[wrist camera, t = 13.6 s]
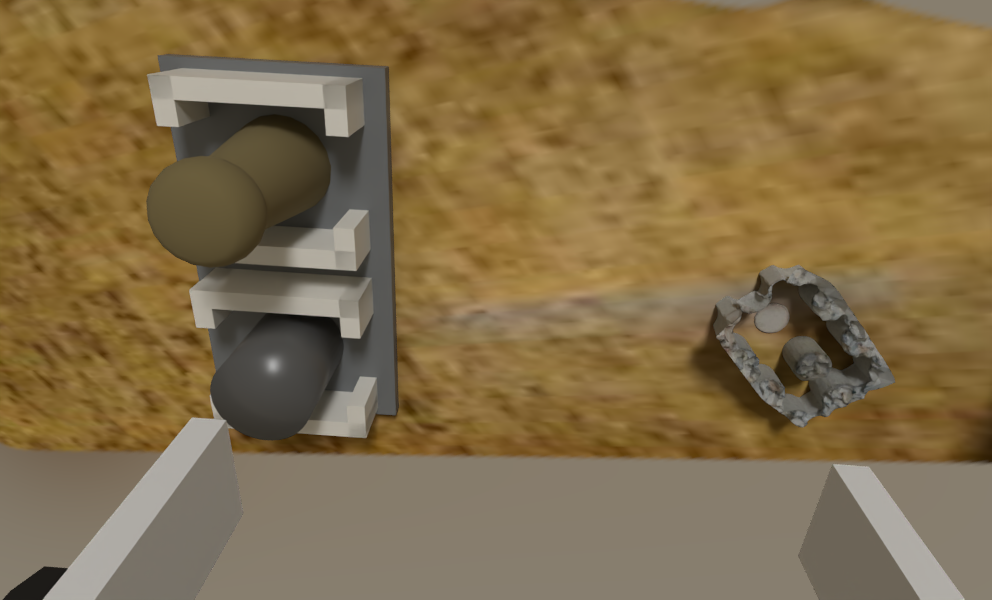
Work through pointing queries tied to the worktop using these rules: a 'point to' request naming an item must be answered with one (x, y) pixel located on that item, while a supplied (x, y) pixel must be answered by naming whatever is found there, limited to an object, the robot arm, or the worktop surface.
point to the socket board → (298, 249)
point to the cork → (238, 191)
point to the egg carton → (803, 347)
